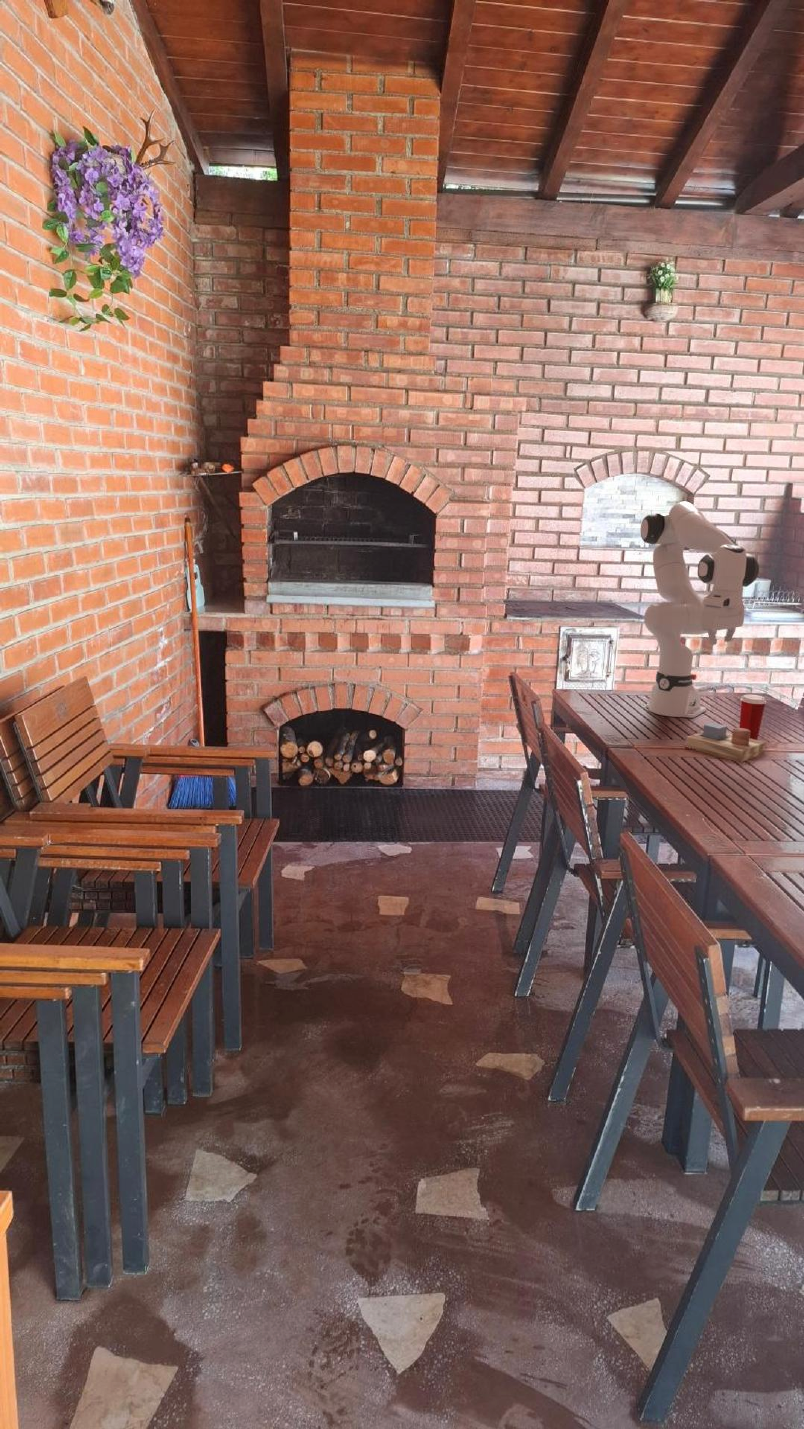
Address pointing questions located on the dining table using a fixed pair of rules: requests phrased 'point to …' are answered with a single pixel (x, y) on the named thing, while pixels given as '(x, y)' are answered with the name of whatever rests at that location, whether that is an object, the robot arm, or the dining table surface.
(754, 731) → the paper cup
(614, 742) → the dining table surface
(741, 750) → the assembly board
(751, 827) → the dining table surface
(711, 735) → the slate block
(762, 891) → the dining table surface
